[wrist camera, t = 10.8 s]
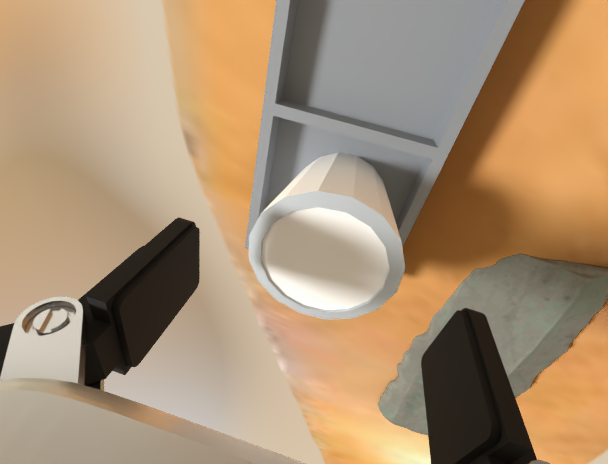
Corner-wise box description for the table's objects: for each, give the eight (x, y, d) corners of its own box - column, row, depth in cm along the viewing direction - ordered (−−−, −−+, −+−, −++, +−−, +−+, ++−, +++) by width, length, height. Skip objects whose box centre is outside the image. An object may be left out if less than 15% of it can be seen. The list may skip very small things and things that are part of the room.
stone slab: (374, 393, 33) (469, 433, 31) (371, 418, 31) (472, 463, 29) (468, 220, 21) (632, 269, 19) (474, 240, 19) (661, 297, 17)
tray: (257, 229, 23) (245, 247, 20) (311, -139, 12) (298, -176, 10) (381, 266, 22) (381, 289, 20) (546, -87, 12) (582, -116, 10)
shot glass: (337, 115, 16) (314, 154, 10) (421, 198, 18) (443, 272, 12) (265, 196, 20) (219, 259, 14) (340, 259, 21) (327, 341, 15)
